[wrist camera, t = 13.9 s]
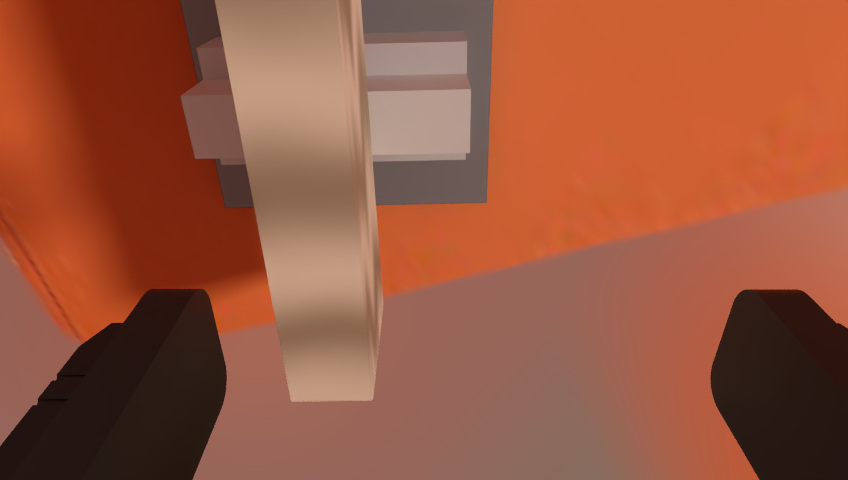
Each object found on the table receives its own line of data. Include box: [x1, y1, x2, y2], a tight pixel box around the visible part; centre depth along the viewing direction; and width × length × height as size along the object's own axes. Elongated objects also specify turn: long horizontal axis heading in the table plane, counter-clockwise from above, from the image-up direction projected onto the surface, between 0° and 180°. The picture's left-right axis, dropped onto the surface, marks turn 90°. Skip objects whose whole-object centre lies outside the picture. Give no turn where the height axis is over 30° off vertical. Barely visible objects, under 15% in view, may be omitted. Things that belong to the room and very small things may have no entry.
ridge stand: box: [180, 0, 493, 208], centre depth 29 cm, size 14×16×8 cm
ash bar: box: [215, 0, 383, 402], centre depth 23 cm, size 20×4×7 cm, turn 1°
